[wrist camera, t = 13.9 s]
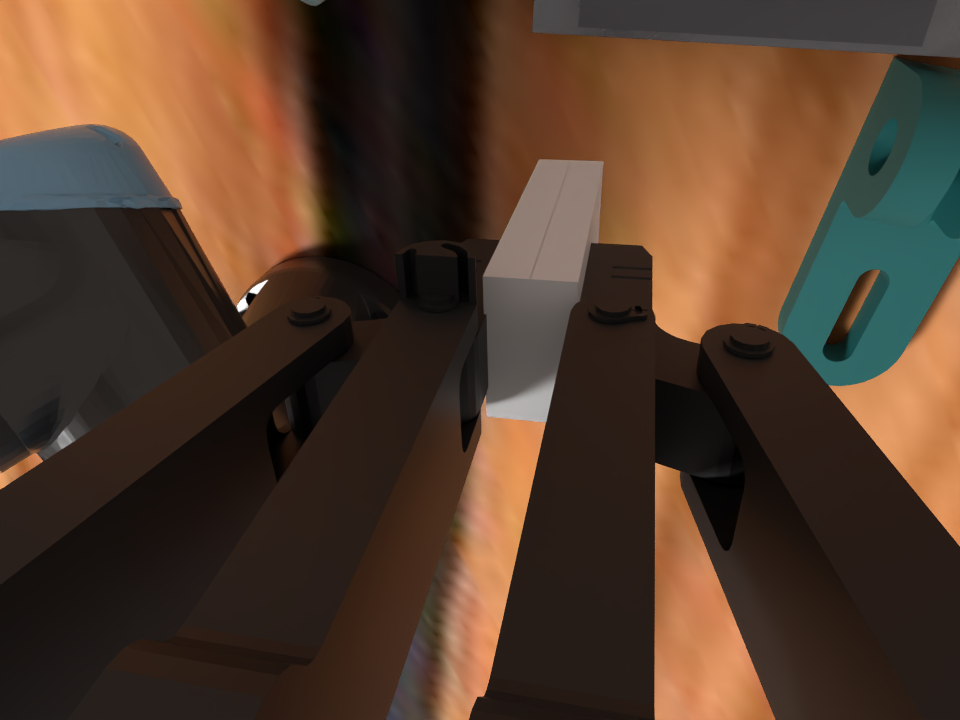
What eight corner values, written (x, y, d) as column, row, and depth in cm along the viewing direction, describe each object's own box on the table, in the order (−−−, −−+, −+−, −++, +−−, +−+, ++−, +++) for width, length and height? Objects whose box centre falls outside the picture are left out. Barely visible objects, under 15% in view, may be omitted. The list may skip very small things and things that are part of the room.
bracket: (892, 56, 35) (939, 89, 29) (1034, 83, 35) (1114, 123, 28) (761, 351, 46) (774, 424, 39) (868, 377, 45) (899, 456, 38)
